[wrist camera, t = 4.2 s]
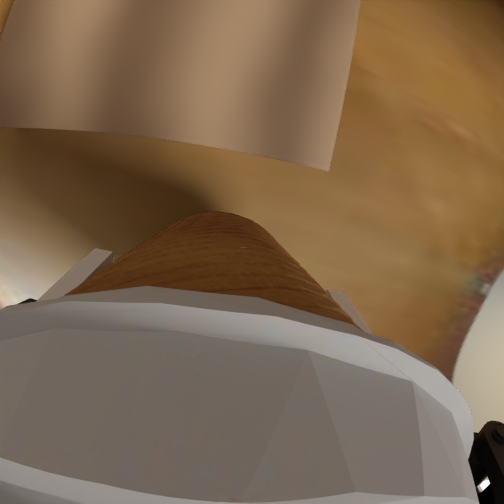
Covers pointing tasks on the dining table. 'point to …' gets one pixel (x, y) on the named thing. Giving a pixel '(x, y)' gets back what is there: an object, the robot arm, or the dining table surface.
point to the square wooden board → (183, 71)
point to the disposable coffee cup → (219, 387)
